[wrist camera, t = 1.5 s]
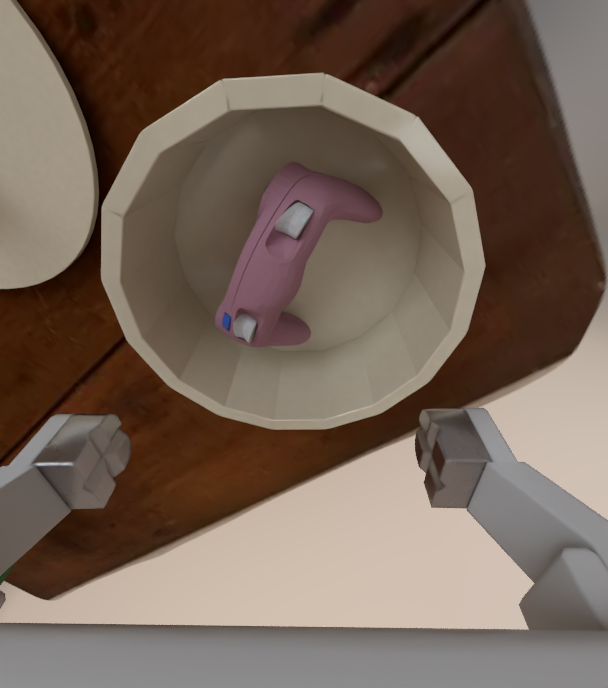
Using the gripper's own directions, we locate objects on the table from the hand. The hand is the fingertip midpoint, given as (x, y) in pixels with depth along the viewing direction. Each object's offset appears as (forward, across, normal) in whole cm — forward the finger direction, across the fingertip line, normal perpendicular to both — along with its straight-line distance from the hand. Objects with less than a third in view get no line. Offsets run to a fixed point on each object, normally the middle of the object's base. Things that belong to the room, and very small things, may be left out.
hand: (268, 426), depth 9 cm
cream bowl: (+13, 0, 0) cm, 13 cm away
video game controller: (+13, 0, 0) cm, 13 cm away
